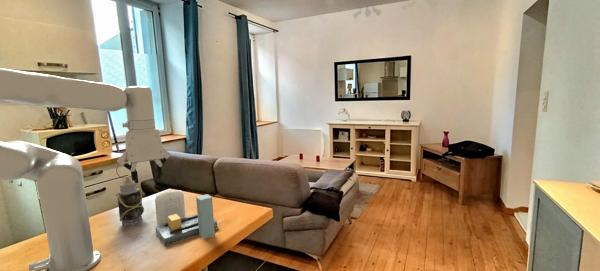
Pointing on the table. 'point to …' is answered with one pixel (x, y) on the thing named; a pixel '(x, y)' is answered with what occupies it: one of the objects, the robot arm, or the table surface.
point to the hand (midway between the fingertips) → (147, 179)
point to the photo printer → (169, 205)
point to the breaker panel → (180, 230)
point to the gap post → (205, 216)
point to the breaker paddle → (174, 222)
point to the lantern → (129, 203)
